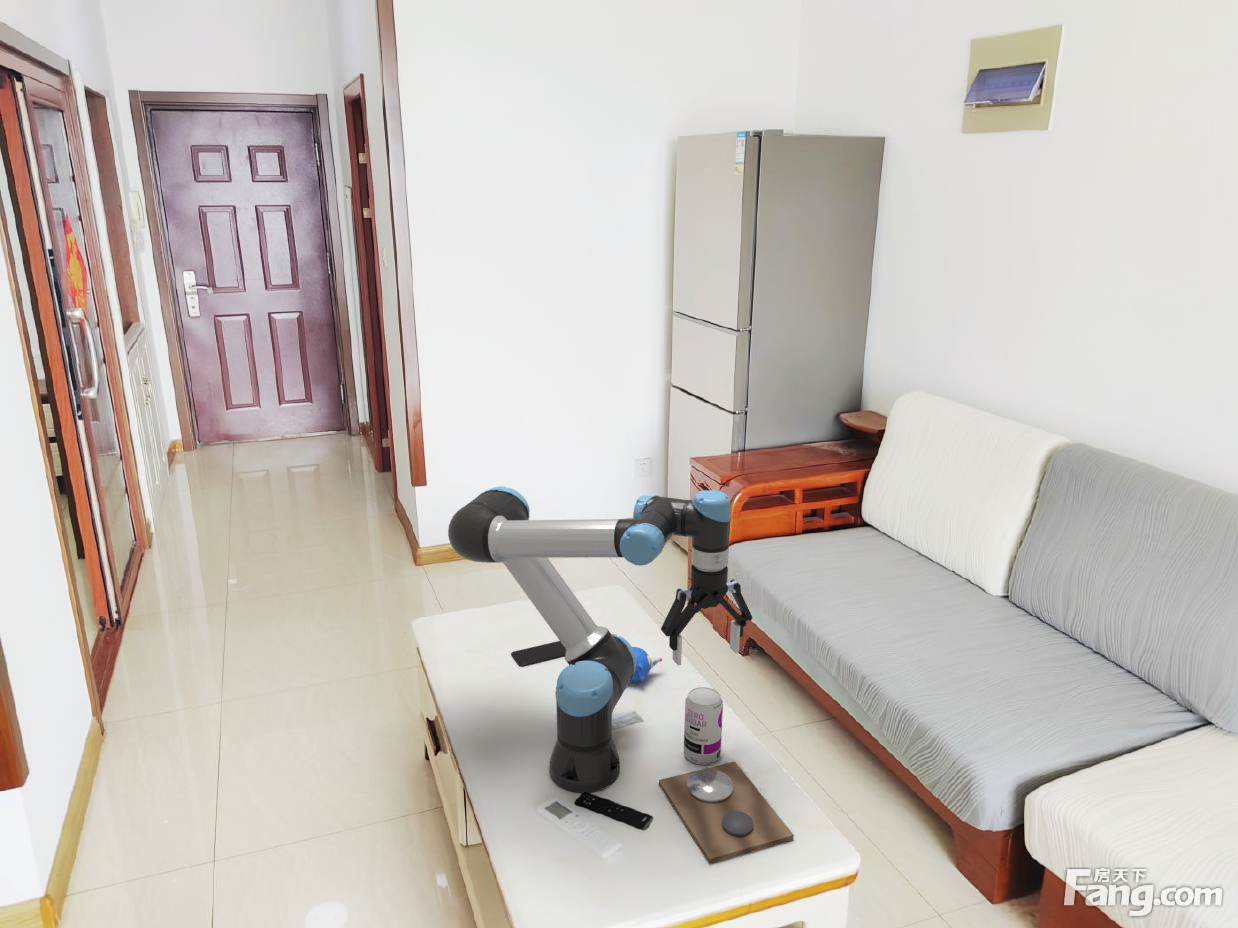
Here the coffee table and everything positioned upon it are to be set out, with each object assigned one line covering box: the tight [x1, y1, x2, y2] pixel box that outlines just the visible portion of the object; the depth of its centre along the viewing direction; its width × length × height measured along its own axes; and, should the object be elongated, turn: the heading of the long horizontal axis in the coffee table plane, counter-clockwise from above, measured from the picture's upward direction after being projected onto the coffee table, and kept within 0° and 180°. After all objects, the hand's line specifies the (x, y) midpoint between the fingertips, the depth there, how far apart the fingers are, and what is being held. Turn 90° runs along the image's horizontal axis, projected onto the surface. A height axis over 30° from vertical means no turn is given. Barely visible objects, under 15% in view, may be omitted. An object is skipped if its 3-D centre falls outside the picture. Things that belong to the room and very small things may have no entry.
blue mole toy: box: [631, 646, 663, 683], centre depth 224 cm, size 12×12×8 cm
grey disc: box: [722, 811, 753, 837], centre depth 172 cm, size 6×6×1 cm
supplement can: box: [683, 686, 724, 766], centre depth 193 cm, size 8×8×15 cm
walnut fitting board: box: [658, 760, 795, 865], centre depth 178 cm, size 18×24×1 cm
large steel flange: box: [687, 768, 733, 803], centre depth 183 cm, size 10×10×1 cm
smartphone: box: [510, 640, 566, 668], centre depth 236 cm, size 8×1×16 cm
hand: (705, 656), depth 188 cm, fingers open, 13 cm apart
